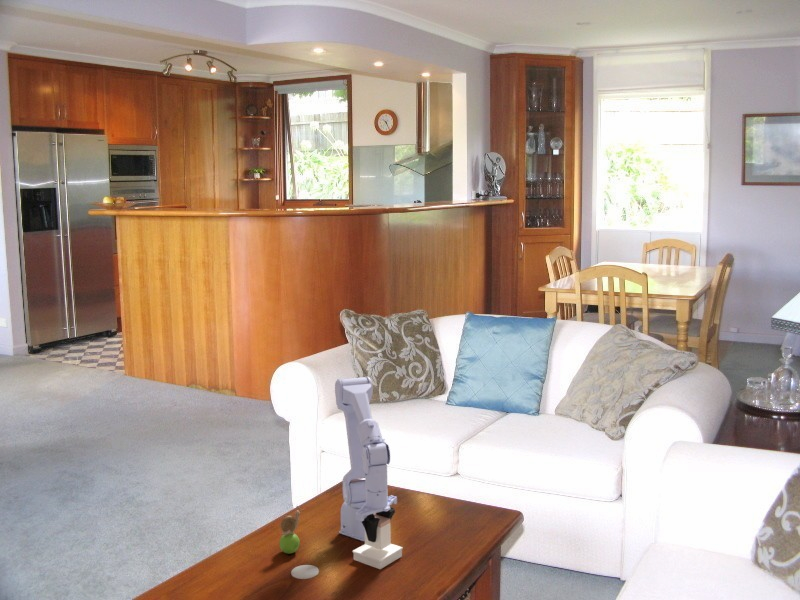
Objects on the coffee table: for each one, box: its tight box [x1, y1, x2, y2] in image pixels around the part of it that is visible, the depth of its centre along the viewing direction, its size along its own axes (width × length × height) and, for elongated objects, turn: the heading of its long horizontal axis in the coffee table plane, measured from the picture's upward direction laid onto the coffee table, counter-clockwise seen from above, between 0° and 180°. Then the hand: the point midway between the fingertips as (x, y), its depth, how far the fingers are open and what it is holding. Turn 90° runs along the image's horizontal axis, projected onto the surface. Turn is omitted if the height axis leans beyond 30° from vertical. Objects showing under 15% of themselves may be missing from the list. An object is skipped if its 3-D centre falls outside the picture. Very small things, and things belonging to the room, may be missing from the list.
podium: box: [351, 543, 404, 570], centre depth 219 cm, size 9×9×2 cm
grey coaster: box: [290, 564, 320, 580], centre depth 212 cm, size 7×7×1 cm
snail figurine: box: [278, 505, 301, 554], centre depth 223 cm, size 5×6×12 cm
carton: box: [364, 513, 392, 550], centre depth 218 cm, size 6×4×7 cm
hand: (377, 537), depth 218 cm, fingers closed on carton, 4 cm apart
